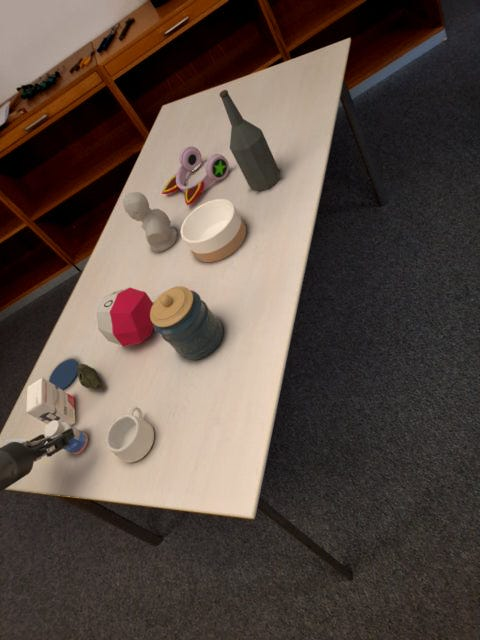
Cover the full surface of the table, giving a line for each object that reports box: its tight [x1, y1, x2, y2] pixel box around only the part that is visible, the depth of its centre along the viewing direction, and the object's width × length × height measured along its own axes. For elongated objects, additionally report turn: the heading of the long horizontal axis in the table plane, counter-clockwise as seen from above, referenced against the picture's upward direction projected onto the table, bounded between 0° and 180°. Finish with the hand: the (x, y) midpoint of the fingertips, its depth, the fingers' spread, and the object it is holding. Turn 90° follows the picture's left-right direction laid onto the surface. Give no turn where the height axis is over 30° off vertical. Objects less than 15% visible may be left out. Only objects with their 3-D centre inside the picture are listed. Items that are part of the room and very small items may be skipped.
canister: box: [150, 285, 224, 361], centre depth 104 cm, size 13×13×18 cm
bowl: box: [180, 198, 247, 263], centre depth 128 cm, size 17×17×8 cm
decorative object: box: [96, 287, 154, 347], centre depth 117 cm, size 15×15×15 cm
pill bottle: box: [43, 420, 89, 455], centre depth 104 cm, size 6×5×10 cm
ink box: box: [25, 377, 76, 426], centre depth 112 cm, size 8×5×12 cm, turn 20°
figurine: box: [122, 191, 178, 253], centre depth 136 cm, size 9×13×20 cm
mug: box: [105, 406, 155, 463], centre depth 99 cm, size 12×10×6 cm
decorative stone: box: [77, 363, 104, 390], centre depth 117 cm, size 11×8×5 cm
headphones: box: [161, 146, 230, 207], centre depth 152 cm, size 20×10×20 cm
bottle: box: [219, 89, 280, 192], centre depth 128 cm, size 10×10×30 cm
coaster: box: [48, 358, 80, 391], centre depth 125 cm, size 10×10×1 cm
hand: (58, 435), depth 102 cm, fingers open, 8 cm apart
